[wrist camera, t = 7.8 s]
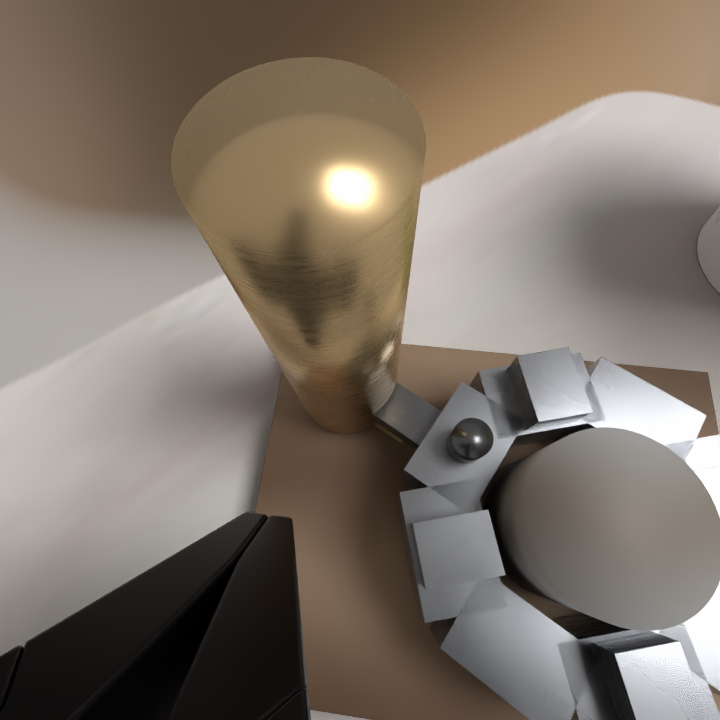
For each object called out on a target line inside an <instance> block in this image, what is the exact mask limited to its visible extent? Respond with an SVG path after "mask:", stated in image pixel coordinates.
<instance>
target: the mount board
mask: <svg viewBox="0 0 720 720" xmlns="http://www.w3.org/2000/svg"><path fill="white" fill-rule="evenodd" d="M517 356H521V355H515V354H504V353H494V352H483V351H472V350H461V349H451V348H440V347H429V346H419V345H408V344H401V348H400V356H399V364H398V372H397V379H396V382H397V383H398V384H400V385H401V386H403V387H405V388H406V389H408V390H409V391H411V392H412V393H414V394H415V395H417V396H418V397H420V398H422V399H423V400H425V401H426V402H428V403H429V404H431V405H432V406H434V407H435V408H437V409H439V410H440V411H443V409H444V408H445V406H446V405H447V403H448V402H449V400H450V399H451V397H452V396H453V394H454V393H455V391H456V389H457V388H458V386H459V385H460V383H461V382H464V383H465V384H467V385H470V383H471V382H472V380H473V379H474V377H475V376H476V374H477V372H478V371H479V370H485V369H491V368H497V367H502V366H508V365H511V363H512V362H513V361H514V360H515V358H516V357H517ZM593 363H595V362H590V361H584V364H585V367H586V369H587V368H588V367H589V366H591V365H592V364H593ZM615 365H617V366H619V367H621V368H622V369H624V370H626V371H628V372H630V373H631V374H633V375H635V376H637V377H639V378H640V379H642V380H644V381H646V382H648V383H649V384H651V385H653V386H655V387H657V388H658V389H660V390H662V391H664V392H666V393H667V394H669V395H671V396H673V397H675V398H676V399H678V400H680V401H682V402H683V403H685V404H687V405H689V406H691V407H692V408H694V409H696V410H698V411H700V412H701V413H703V414H705V415H706V418H705V420H704V422H703V424H702V427H701V429H700V431H699V433H698V436H697V438H696V439H698V438H703V437H709V436H714V435H719V433H718V427H717V422H716V416H715V411H714V405H713V400H712V394H711V388H710V383H709V377H708V372H697V371H686V370H676V369H665V368H654V367H644V366H633V365H622V364H615ZM415 452H416V449H415V448H413V447H412V446H410V445H409V444H407V443H406V442H404V441H403V440H402V439H400V438H399V437H397V436H396V435H394V434H393V433H391V432H390V431H388V430H387V429H385V428H384V427H382V426H381V425H380V424H378V423H377V424H376V425H375V426H373V427H371V428H369V429H368V430H365V431H362V432H359V433H353V434H341V433H335V432H332V431H329V430H327V429H325V428H323V427H321V426H320V425H318V424H317V423H316V422H315V421H314V420H313V419H312V418H311V417H310V416H309V414H308V413H307V411H306V409H305V408H304V406H303V404H302V403H301V401H300V399H299V398H298V396H297V394H296V393H295V391H294V389H293V388H292V386H291V384H290V383H289V381H288V379H287V377H286V376H285V374H284V372H283V371H282V375H281V380H280V385H279V390H278V396H277V401H276V406H275V411H274V416H273V421H272V427H271V432H270V437H269V442H268V447H267V452H266V458H265V463H264V468H263V473H262V478H261V483H260V489H259V494H258V499H257V504H256V509H255V513H259V514H265V515H267V516H268V517H269V516H272V515H275V516H283V517H290V518H291V519H292V520H293V529H294V541H295V552H296V563H297V575H298V586H299V598H300V609H301V620H302V632H303V643H304V655H305V666H306V677H307V692H308V695H309V707H310V710H316V711H322V712H329V713H335V714H341V715H347V716H353V717H360V718H366V719H372V720H529V719H528V718H527V717H526V716H524V715H523V714H522V713H521V712H519V711H518V710H517V709H516V708H514V707H513V706H512V705H511V704H509V703H508V702H507V701H506V700H504V699H503V698H502V697H501V696H499V695H498V694H497V693H496V692H494V691H493V690H492V689H491V688H489V687H488V686H487V685H486V684H484V683H483V682H482V681H481V680H479V679H478V678H477V677H476V676H474V675H473V674H472V673H471V672H469V671H468V670H467V669H466V668H464V667H463V666H462V665H461V664H459V663H458V662H457V661H456V660H454V659H453V658H452V657H451V656H449V655H448V654H447V653H446V652H444V651H443V650H442V649H441V648H440V647H439V645H438V643H437V642H436V640H435V638H434V636H433V634H432V632H431V630H430V626H431V625H432V623H433V621H432V622H427V623H425V622H424V620H423V618H422V616H421V614H420V612H419V610H418V608H417V604H416V599H415V594H414V589H413V583H412V578H411V573H410V568H409V563H408V557H407V552H406V547H405V542H404V536H403V531H402V526H401V521H400V515H399V510H398V505H397V500H396V498H397V496H398V494H399V492H404V491H409V490H415V489H414V488H412V487H411V486H410V485H408V484H407V483H405V482H404V481H403V480H401V479H400V477H401V475H402V473H403V470H404V468H405V467H406V465H407V464H408V462H409V461H410V459H411V458H412V456H413V455H414V453H415ZM480 502H481V506H482V509H483V510H488V511H489V514H490V518H491V522H492V526H493V530H494V533H495V537H496V541H497V545H498V549H499V552H500V556H501V560H502V564H503V568H504V571H505V575H503V576H500V579H501V583H502V584H503V585H504V586H506V587H507V588H508V589H510V590H511V591H512V592H514V593H515V594H517V595H518V596H519V597H521V598H522V599H523V600H525V601H526V602H527V603H529V604H530V605H532V606H533V607H534V608H536V609H537V610H538V611H540V612H541V613H543V614H544V615H545V616H547V617H548V618H549V619H551V620H554V619H559V618H565V617H570V616H575V615H580V614H586V615H589V616H591V617H594V618H596V619H599V620H601V621H604V622H606V623H609V624H612V625H615V626H618V627H621V628H626V629H631V630H640V631H653V630H663V629H667V628H671V627H674V626H677V625H679V624H681V623H684V622H686V621H687V620H689V619H690V618H692V617H694V616H695V615H696V614H698V613H699V612H700V611H701V610H702V609H703V608H704V607H705V606H706V605H707V603H708V602H709V601H710V599H711V598H712V597H713V595H714V593H715V591H716V589H717V587H718V585H719V583H720V516H719V513H718V511H717V508H716V505H715V503H714V501H713V499H712V497H711V495H710V493H709V492H708V490H707V489H706V487H705V485H704V484H703V482H702V481H701V480H700V478H699V477H698V476H697V475H696V473H695V472H694V471H693V470H692V469H691V468H690V467H689V466H688V464H687V463H686V462H685V461H684V460H682V459H681V458H680V457H679V456H678V455H676V454H675V453H674V452H673V451H671V450H670V449H668V448H667V447H665V446H664V445H663V444H661V443H659V442H657V441H655V440H653V439H652V438H649V437H647V436H644V435H642V434H640V433H636V432H633V431H629V430H625V429H619V428H609V427H600V428H590V429H586V430H581V431H578V432H576V433H573V434H570V435H568V436H566V437H564V438H562V439H560V440H558V439H554V440H548V441H543V442H537V443H531V444H526V445H520V446H515V447H510V448H509V450H508V451H507V453H506V455H505V456H504V458H503V460H502V462H501V463H500V465H499V467H498V468H497V470H496V472H495V473H494V475H493V477H492V479H491V480H490V482H489V484H488V485H487V487H486V489H485V490H484V492H483V494H482V496H481V497H480ZM711 693H712V692H711ZM712 696H713V698H714V701H715V704H716V706H717V709H718V711H719V714H720V696H719V695H716V694H714V693H712Z"/></svg>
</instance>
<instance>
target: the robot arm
mask: <svg viewBox="0 0 720 720" xmlns="http://www.w3.org/2000/svg"><path fill="white" fill-rule="evenodd" d="M0 720H311V718H310V707H309V695H308V692H307V677H306V666H305V655H304V643H303V632H302V620H301V609H300V598H299V586H298V575H297V563H296V552H295V541H294V529H293V520H292V519H291V518H290V517H283V516H275V515H272V516H269V517H268V516H267V515H265V514H259V513H251V512H246V513H244V514H242V515H240V516H238V517H236V518H235V519H233V520H231V521H230V522H228V523H226V524H225V525H223V526H221V527H220V528H218V529H216V530H215V531H213V532H211V533H209V534H208V535H206V536H204V537H203V538H201V539H199V540H198V541H196V542H194V543H193V544H191V545H189V546H187V547H186V548H184V549H182V550H181V551H179V552H177V553H176V554H174V555H172V556H171V557H169V558H167V559H166V560H164V561H162V562H160V563H159V564H157V565H155V566H154V567H152V568H150V569H149V570H147V571H145V572H144V573H142V574H140V575H138V576H137V577H135V578H133V579H132V580H130V581H128V582H127V583H125V584H123V585H122V586H120V587H118V588H117V589H115V590H113V591H111V592H110V593H108V594H106V595H105V596H103V597H101V598H100V599H98V600H96V601H95V602H93V603H91V604H89V605H88V606H86V607H84V608H83V609H81V610H79V611H78V612H76V613H74V614H73V615H71V616H69V617H68V618H66V619H64V620H62V621H61V622H59V623H57V624H56V625H54V626H52V627H51V628H49V629H47V630H46V631H44V632H42V633H40V634H39V635H37V636H35V637H34V638H32V639H30V640H29V641H27V642H26V644H25V646H24V648H23V646H17V647H15V648H13V649H11V650H10V651H8V652H6V653H5V654H3V655H1V656H0Z"/></svg>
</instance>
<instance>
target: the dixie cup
mask: <svg viewBox="0 0 720 720" xmlns="http://www.w3.org/2000/svg"><path fill="white" fill-rule="evenodd" d="M697 254H698V259H699V262H700V265H701V268H702V270H703V272H704V274H705V276H706V277H707V279H708V280H709V282H710V283H711V285H712V286H713V287H714V288H715V289H716V290H717V291H718V292H719V293H720V206H719V208H718V209H717V210H716V211H715V212H714V214H713V215H712V216H711V217H710V219H709V220H708V221H707V222H706V223H705V225H704V226H703V228H702V229H701V231H700V234H699V237H698V242H697Z"/></svg>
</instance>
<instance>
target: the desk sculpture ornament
mask: <svg viewBox="0 0 720 720" xmlns="http://www.w3.org/2000/svg"><path fill="white" fill-rule="evenodd" d="M425 151H426V142H425V133H424V128H423V124H422V121H421V119H420V116H419V114H418V112H417V110H416V108H415V107H414V105H413V103H412V102H411V101H410V99H409V98H408V97H407V96H406V95H405V94H404V92H402V90H400V89H399V88H398V87H397V86H396V85H395V84H394V83H392V82H391V81H389V80H388V79H387V78H385V77H384V76H382V75H380V74H378V73H376V72H374V71H372V70H370V69H368V68H365V67H363V66H360V65H357V64H353V63H350V62H346V61H342V60H336V59H330V58H317V57H308V58H307V57H306V58H291V59H283V60H278V61H273V62H269V63H266V64H262V65H259V66H255V67H252V68H250V69H247V70H245V71H242V72H240V73H238V74H236V75H234V76H232V77H230V78H228V79H227V80H225V81H224V82H222V83H220V84H219V85H217V86H216V87H214V88H213V89H212V90H211V91H209V92H208V93H207V94H206V95H205V96H204V97H202V98H201V99H200V101H199V102H197V103H196V104H195V106H194V107H193V108H192V109H191V111H190V112H189V113H188V114H187V116H186V118H185V119H184V121H183V122H182V124H181V126H180V128H179V130H178V133H177V135H176V137H175V140H174V145H173V149H172V156H171V169H172V177H173V181H174V184H175V188H176V190H177V192H178V194H179V196H180V199H181V201H182V202H183V204H184V206H185V207H186V209H187V211H188V212H189V214H190V216H191V217H192V219H193V221H194V222H195V224H196V226H197V227H198V229H199V231H200V232H201V234H202V236H203V237H204V239H205V241H206V243H207V244H208V246H209V248H210V249H211V251H212V253H213V254H214V256H215V258H216V260H217V261H218V263H219V265H220V266H221V268H222V270H223V271H224V273H225V275H226V276H227V278H228V280H229V281H230V283H231V285H232V286H233V288H234V290H235V292H236V293H237V295H238V297H239V298H240V300H241V302H242V303H243V305H244V307H245V308H246V310H247V312H248V313H249V315H250V317H251V319H252V320H253V322H254V324H255V325H256V327H257V329H258V330H259V332H260V334H261V335H262V337H263V339H264V340H265V342H266V344H267V345H268V347H269V349H270V351H271V352H272V354H273V356H274V357H275V359H276V361H277V362H278V364H279V366H280V367H281V369H282V371H283V372H284V374H285V376H286V377H287V379H288V381H289V383H290V384H291V386H292V388H293V389H294V391H295V393H296V394H297V396H298V398H299V399H300V401H301V403H302V404H303V406H304V408H305V409H306V411H307V413H308V414H309V416H310V417H311V418H312V419H313V420H314V421H315V422H316V423H317V424H318V425H320V426H321V427H323V428H325V429H327V430H329V431H332V432H335V433H341V434H353V433H359V432H362V431H365V430H368V429H369V428H371V427H373V426H375V425H376V424H377V423H378V424H380V425H381V426H382V427H384V428H385V429H387V430H388V431H390V432H391V433H393V434H394V435H396V436H397V437H399V438H400V439H402V440H403V441H404V442H406V443H407V444H409V445H410V446H412V447H413V448H415V449H416V452H415V453H414V455H413V456H412V458H411V459H410V461H409V462H408V464H407V465H406V467H405V468H404V470H403V473H402V475H401V477H400V479H401V480H403V481H404V482H405V483H407V484H408V485H410V486H411V487H412V488H414V489H415V490H409V491H404V492H399V494H398V496H397V498H396V500H397V505H398V510H399V515H400V521H401V526H402V531H403V536H404V542H405V547H406V552H407V557H408V563H409V568H410V573H411V578H412V583H413V589H414V594H415V599H416V604H417V608H418V610H419V612H420V614H421V616H422V618H423V620H424V622H425V623H427V622H432V621H433V623H432V625H431V626H430V630H431V632H432V634H433V636H434V638H435V640H436V642H437V643H438V645H439V647H440V648H441V649H442V650H443V651H444V652H446V653H447V654H448V655H449V656H451V657H452V658H453V659H454V660H456V661H457V662H458V663H459V664H461V665H462V666H463V667H464V668H466V669H467V670H468V671H469V672H471V673H472V674H473V675H474V676H476V677H477V678H478V679H479V680H481V681H482V682H483V683H484V684H486V685H487V686H488V687H489V688H491V689H492V690H493V691H494V692H496V693H497V694H498V695H499V696H501V697H502V698H503V699H504V700H506V701H507V702H508V703H509V704H511V705H512V706H513V707H514V708H516V709H517V710H518V711H519V712H521V713H522V714H523V715H524V716H526V717H527V718H528V719H529V720H720V714H719V711H718V709H717V706H716V704H715V701H714V698H713V696H712V693H714V694H716V695H719V696H720V583H719V585H718V587H717V589H716V591H715V593H714V595H713V597H712V598H711V599H710V601H709V602H708V603H707V605H706V606H705V607H704V608H703V609H702V610H701V611H700V612H699V613H698V614H696V615H695V616H694V617H692V618H690V619H689V620H687V621H686V622H684V623H681V624H679V625H677V626H674V627H671V628H667V629H663V630H653V631H640V630H631V629H626V628H621V627H618V626H615V625H612V624H609V623H606V622H604V621H601V620H599V619H596V618H594V617H591V616H589V615H586V614H580V615H575V616H570V617H565V618H559V619H554V620H551V619H549V618H548V617H547V616H545V615H544V614H543V613H541V612H540V611H538V610H537V609H536V608H534V607H533V606H532V605H530V604H529V603H527V602H526V601H525V600H523V599H522V598H521V597H519V596H518V595H517V594H515V593H514V592H512V591H511V590H510V589H508V588H507V587H506V586H504V585H503V584H502V583H501V579H500V576H503V575H505V571H504V568H503V564H502V560H501V556H500V552H499V549H498V545H497V541H496V537H495V533H494V530H493V526H492V522H491V518H490V514H489V511H488V510H483V509H482V506H481V502H480V497H481V496H482V494H483V492H484V490H485V489H486V487H487V485H488V484H489V482H490V480H491V479H492V477H493V475H494V473H495V472H496V470H497V468H498V467H499V465H500V463H501V462H502V460H503V458H504V456H505V455H506V453H507V451H508V450H509V448H510V447H515V446H520V445H526V444H531V443H537V442H543V441H548V440H554V439H558V440H560V439H562V438H564V437H566V436H568V435H570V434H573V433H576V432H578V431H581V430H586V429H590V428H600V427H609V428H619V429H625V430H629V431H633V432H636V433H640V434H642V435H644V436H647V437H649V438H652V439H653V440H655V441H657V442H659V443H661V444H663V445H664V446H665V447H667V448H668V449H670V450H671V451H673V452H674V453H675V454H676V455H678V456H679V457H680V458H681V459H682V460H684V461H685V462H686V463H687V464H688V466H689V467H690V468H691V469H692V470H693V471H694V472H695V473H696V475H697V476H698V477H699V478H700V480H701V481H702V482H703V484H704V485H705V487H706V489H707V490H708V492H709V493H710V495H711V497H712V499H713V501H714V503H715V505H716V508H717V511H718V513H719V516H720V435H714V436H709V437H703V438H698V439H696V438H697V436H698V433H699V431H700V429H701V427H702V424H703V422H704V420H705V418H706V415H705V414H703V413H701V412H700V411H698V410H696V409H694V408H692V407H691V406H689V405H687V404H685V403H683V402H682V401H680V400H678V399H676V398H675V397H673V396H671V395H669V394H667V393H666V392H664V391H662V390H660V389H658V388H657V387H655V386H653V385H651V384H649V383H648V382H646V381H644V380H642V379H640V378H639V377H637V376H635V375H633V374H631V373H630V372H628V371H626V370H624V369H622V368H621V367H619V366H617V365H615V364H613V363H612V362H610V361H608V360H606V359H604V358H603V357H601V358H600V359H598V360H597V361H596V362H595V363H593V364H592V365H591V366H589V367H588V368H587V369H586V367H585V364H584V361H583V359H582V356H581V354H580V353H577V354H572V355H571V352H570V350H569V347H567V348H561V349H556V350H550V351H544V352H538V353H533V354H527V355H521V356H517V357H516V358H515V360H514V361H513V362H512V363H511V365H508V366H502V367H497V368H491V369H485V370H479V371H478V372H477V374H476V376H475V377H474V379H473V380H472V382H471V383H470V385H467V384H465V383H464V382H461V383H460V385H459V386H458V388H457V389H456V391H455V393H454V394H453V396H452V397H451V399H450V400H449V402H448V403H447V405H446V406H445V408H444V409H443V411H440V410H439V409H437V408H435V407H434V406H432V405H431V404H429V403H428V402H426V401H425V400H423V399H422V398H420V397H418V396H417V395H415V394H414V393H412V392H411V391H409V390H408V389H406V388H405V387H403V386H401V385H400V384H398V383H397V382H396V379H397V372H398V364H399V356H400V348H401V340H402V332H403V324H404V316H405V309H406V301H407V293H408V285H409V277H410V269H411V261H412V254H413V246H414V238H415V230H416V222H417V214H418V206H419V198H420V191H421V183H422V175H423V167H424V159H425ZM711 692H712V693H711Z"/></svg>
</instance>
